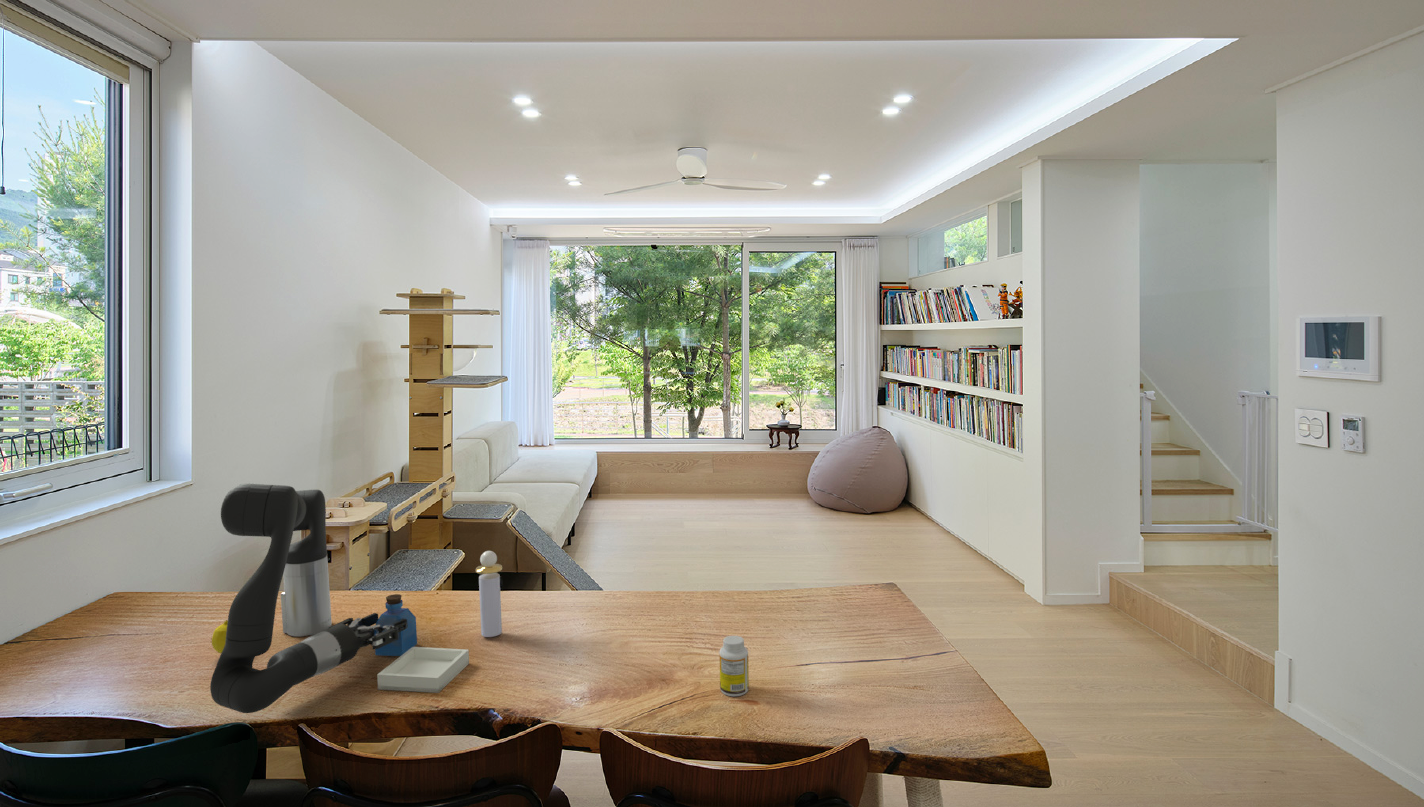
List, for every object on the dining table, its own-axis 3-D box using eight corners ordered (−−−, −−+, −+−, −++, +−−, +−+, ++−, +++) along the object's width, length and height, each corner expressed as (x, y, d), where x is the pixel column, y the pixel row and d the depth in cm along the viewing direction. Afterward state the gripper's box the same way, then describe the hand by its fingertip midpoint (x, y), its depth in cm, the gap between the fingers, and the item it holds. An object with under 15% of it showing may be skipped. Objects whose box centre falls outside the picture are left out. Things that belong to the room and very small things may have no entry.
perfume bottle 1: (417, 643, 160) (414, 592, 159) (402, 656, 154) (399, 602, 153) (390, 643, 161) (388, 591, 160) (375, 655, 155) (372, 601, 153)
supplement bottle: (731, 680, 141) (731, 631, 140) (754, 689, 138) (754, 638, 137) (713, 691, 137) (713, 640, 136) (736, 701, 133) (736, 648, 132)
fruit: (206, 659, 153) (204, 623, 153) (232, 648, 159) (229, 613, 158) (225, 663, 152) (222, 626, 151) (249, 652, 157) (247, 616, 156)
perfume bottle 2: (492, 643, 160) (489, 556, 158) (473, 638, 162) (469, 553, 160) (510, 633, 165) (506, 549, 163) (490, 629, 168) (487, 546, 166)
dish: (378, 689, 139) (377, 674, 139) (413, 660, 152) (412, 646, 151) (438, 692, 138) (437, 678, 137) (469, 663, 150) (468, 649, 150)
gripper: (350, 637, 138) (415, 607, 153) (299, 626, 143) (366, 599, 158) (353, 674, 139) (417, 641, 153) (301, 662, 144) (368, 631, 159)
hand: (391, 620), depth 156 cm, fingers open, 8 cm apart
